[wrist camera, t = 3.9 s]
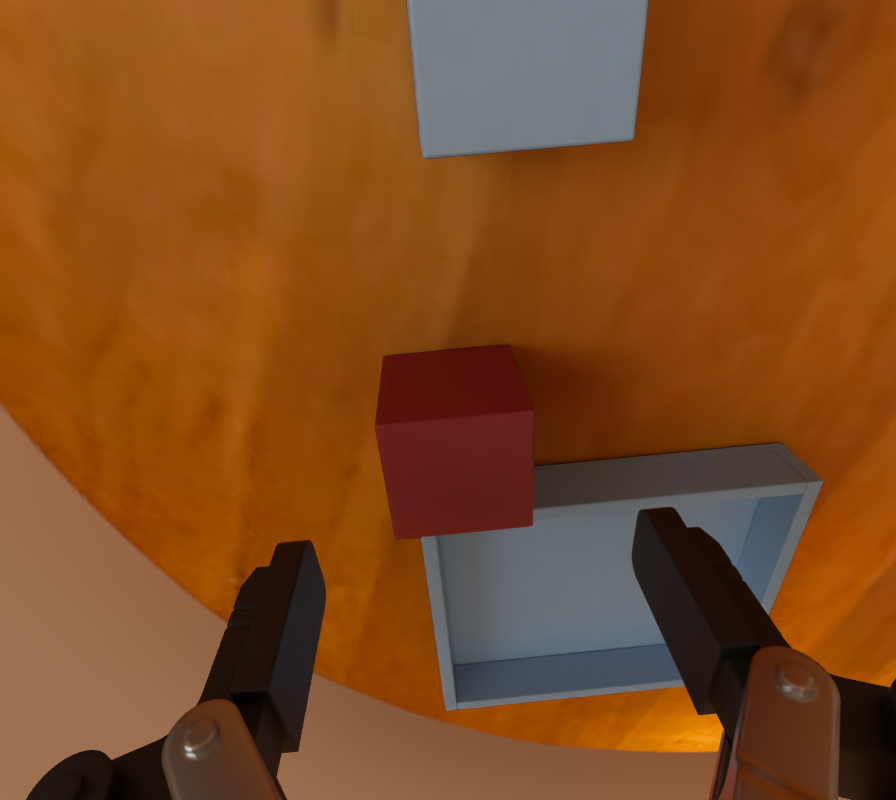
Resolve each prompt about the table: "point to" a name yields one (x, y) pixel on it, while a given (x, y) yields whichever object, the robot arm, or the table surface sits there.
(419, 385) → the burgundy block
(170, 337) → the table surface
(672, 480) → the blue tray
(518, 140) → the blue block
